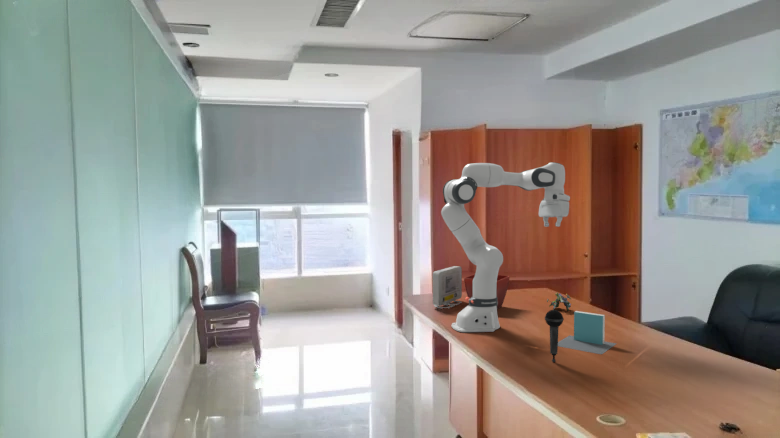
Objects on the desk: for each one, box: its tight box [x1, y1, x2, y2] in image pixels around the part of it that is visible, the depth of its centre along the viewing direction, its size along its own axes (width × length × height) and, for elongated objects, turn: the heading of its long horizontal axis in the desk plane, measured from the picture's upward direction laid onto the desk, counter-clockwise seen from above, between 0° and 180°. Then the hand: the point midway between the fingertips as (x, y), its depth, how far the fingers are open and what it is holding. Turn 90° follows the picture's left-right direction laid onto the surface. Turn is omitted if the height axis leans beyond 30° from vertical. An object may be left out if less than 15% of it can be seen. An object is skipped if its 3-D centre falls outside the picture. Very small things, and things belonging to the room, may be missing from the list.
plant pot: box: [463, 273, 511, 310], centre depth 299 cm, size 19×19×17 cm
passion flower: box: [546, 292, 572, 312], centre depth 292 cm, size 11×11×12 cm
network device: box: [432, 265, 463, 309], centre depth 307 cm, size 26×9×20 cm, turn 144°
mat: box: [558, 334, 617, 355], centre depth 230 cm, size 18×20×1 cm
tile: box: [573, 310, 606, 345], centre depth 233 cm, size 2×12×12 cm, turn 51°
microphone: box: [544, 309, 565, 363], centre depth 209 cm, size 7×7×20 cm
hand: (551, 226), depth 262 cm, fingers open, 8 cm apart
